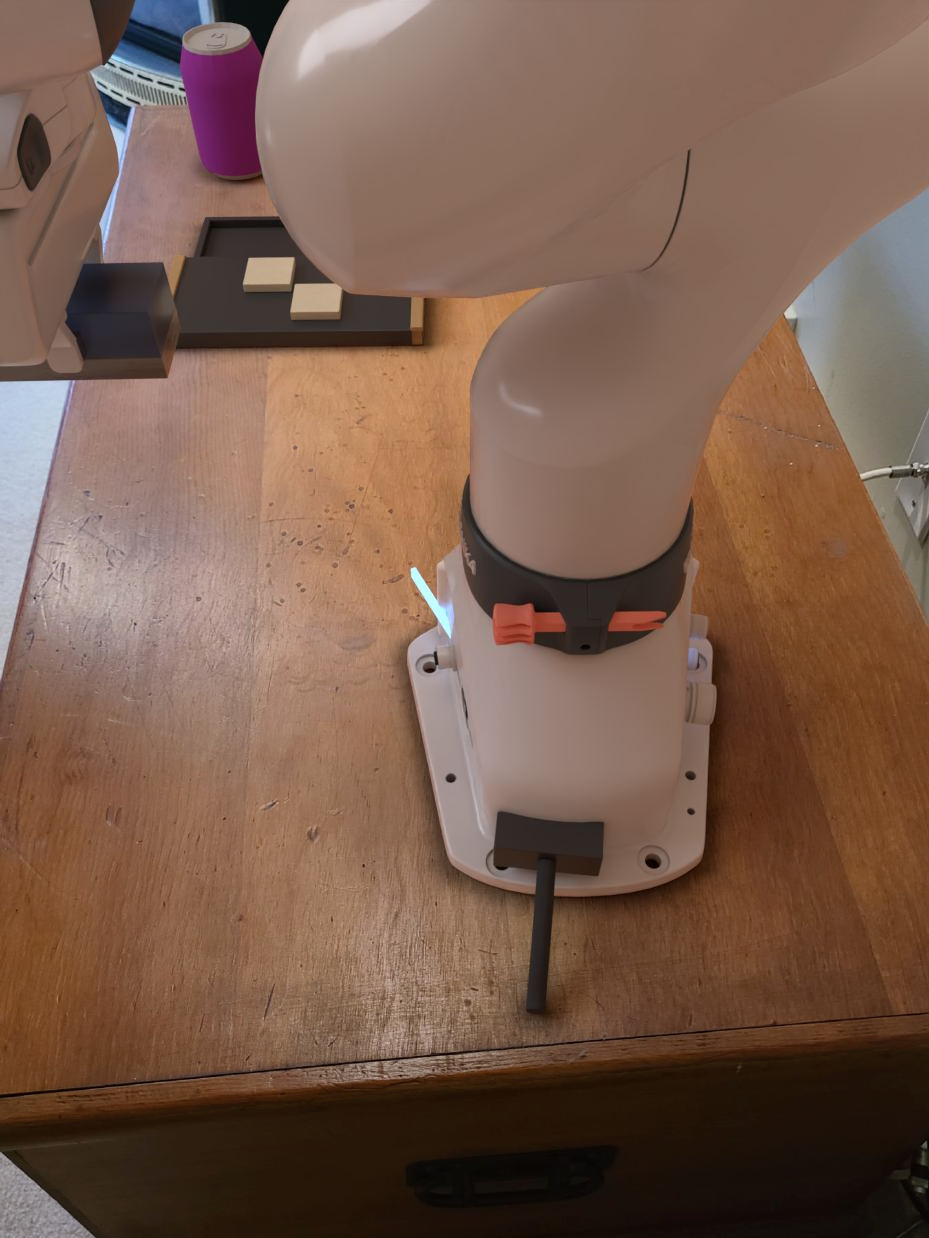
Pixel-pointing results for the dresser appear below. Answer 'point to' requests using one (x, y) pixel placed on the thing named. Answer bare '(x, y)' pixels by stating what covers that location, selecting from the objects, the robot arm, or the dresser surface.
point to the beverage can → (223, 97)
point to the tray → (245, 237)
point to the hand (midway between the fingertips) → (83, 332)
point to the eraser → (116, 325)
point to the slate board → (280, 310)
